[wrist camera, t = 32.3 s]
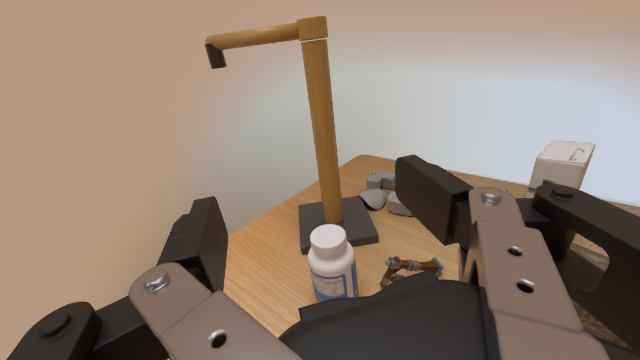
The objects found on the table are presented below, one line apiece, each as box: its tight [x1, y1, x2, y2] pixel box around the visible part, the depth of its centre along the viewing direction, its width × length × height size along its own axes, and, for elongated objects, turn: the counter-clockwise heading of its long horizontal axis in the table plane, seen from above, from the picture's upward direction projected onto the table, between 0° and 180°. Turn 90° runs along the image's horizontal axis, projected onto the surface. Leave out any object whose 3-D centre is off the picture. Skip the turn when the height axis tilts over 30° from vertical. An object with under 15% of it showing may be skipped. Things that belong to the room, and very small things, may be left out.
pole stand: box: [298, 196, 378, 255], centre depth 46 cm, size 12×12×2 cm
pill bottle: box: [308, 224, 358, 303], centre depth 31 cm, size 6×5×10 cm
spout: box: [205, 16, 328, 69], centre depth 34 cm, size 16×4×4 cm, turn 82°
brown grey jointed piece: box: [380, 257, 444, 287], centre depth 33 cm, size 2×8×4 cm, turn 105°
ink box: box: [526, 140, 595, 198], centre depth 38 cm, size 8×5×12 cm, turn 132°
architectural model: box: [358, 169, 508, 216], centre depth 47 cm, size 12×25×5 cm, turn 61°
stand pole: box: [301, 39, 343, 224], centre depth 39 cm, size 3×3×27 cm
